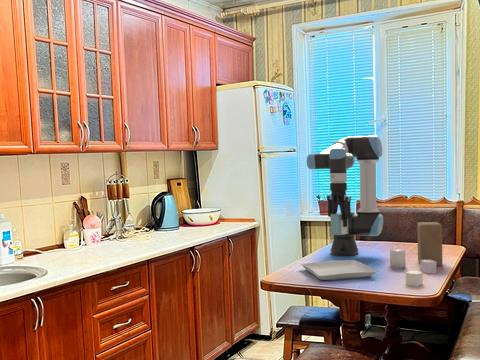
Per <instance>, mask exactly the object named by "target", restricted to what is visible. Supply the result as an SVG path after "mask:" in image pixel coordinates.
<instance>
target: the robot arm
mask: <svg viewBox="0 0 480 360" xmlns="http://www.w3.org/2000/svg"><path fill="white" fill-rule="evenodd" d="M382 156H383V146H382V141H381V139H380V137H379V136H378V135H372V134H367V135H366V134H365V135H353V136H352V135H349V136H346V137H343V138H341V139H338V140H336V141H335V142H333V143H332V144H331V146H329V147H327V148H326V149H323V150H322V151H320V152H318V153H310V154H307V156H306V166H307V168H308V169H309V170H329V182H330V183H329V191H331V193H330V194H329V195H326V199H327V217H328V218H331V215H330V214H337V213H338V209H340V212H339V213H341V216H342V219H341V234H343V235H335V234H332V235H333V240H332V245H331V248H330V254H331V255H334V256H339V257H340V256H342V257H345V256H348V257H350V256H357V255H359V248H358V244H357V242H356V236H366V237H368V236H369V237H378V236H379V235H380V234H381V233H382V230H383V227H384V226H383V225H384V216H383V214H381V213H380V210H379V209H378V207H377V206H378V205H377V203H378V202H377V163H378V162H379V160H380V159H379V158H381V157H382ZM356 162H357V163H358V164H359V198H360V199H359V202H360V203H359V204H360V206H359V208H358V210H357V213H355V211H354V210H351V208H352V207H351V200H352V197H351V196H348V195H347V193H346V192H347V190H348V183H347V182H348V177H347V176H348V174H347V169H348V170H349V169H350V168H352V167H353V166H354V165H355V163H356ZM344 216H345V217H344ZM347 219H348V234H347Z"/></svg>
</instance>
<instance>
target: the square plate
mask: <svg viewBox="0 0 480 360" xmlns="http://www.w3.org/2000/svg"><path fill="white" fill-rule="evenodd" d="M300 265H301V266H302V268H304V269H305V270H306V271H307V272H309V273H311V274H312V275H314V276H315V277H316V278H318V279H319V280H321V281H334V280H335V281H337V280H349V279H350V280H351V278H352V279H361V278H365V277H366V278H369V277H372V276H374V275H375V274H377V273H378V270H376V269H375V268H373V267H370V266H368V265H366V264H364V263H362V262H360V261H358V260H356V259H355V260H354V259H345V260H328V261H327V260H325V261H315V262H306V263H305V262H303V263H301V264H300Z"/></svg>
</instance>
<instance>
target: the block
mask: <svg viewBox="0 0 480 360" xmlns="http://www.w3.org/2000/svg"><path fill="white" fill-rule="evenodd" d="M416 226H417V227H416V228H417V229H416V230H417V261H418V263H419V264H420V260H433V261H436V267H437V266H439V267H442V266H443V225H442V224H441V223H439V222H438V221H434V222H433V221H431V222H430V221H425V222H424V221H421V222H417V225H416Z"/></svg>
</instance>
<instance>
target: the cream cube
mask: <svg viewBox="0 0 480 360" xmlns="http://www.w3.org/2000/svg"><path fill="white" fill-rule="evenodd" d="M423 274H424V272H422V271H419V270H411V269H410V270H408V271H405V285H407V286H414V287H420V286H421V285H423V282H424V280H423V276H424V275H423Z"/></svg>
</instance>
